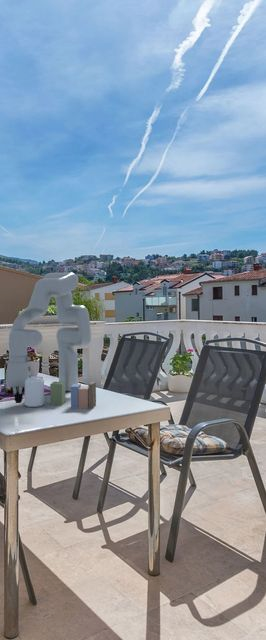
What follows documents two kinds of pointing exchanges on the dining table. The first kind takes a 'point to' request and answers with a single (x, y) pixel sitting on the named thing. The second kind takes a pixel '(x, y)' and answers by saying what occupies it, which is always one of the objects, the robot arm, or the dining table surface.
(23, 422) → the dining table surface
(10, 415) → the dining table surface
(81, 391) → the terracotta book
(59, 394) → the olive book
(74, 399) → the blue book
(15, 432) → the dining table surface
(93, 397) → the walnut bookend
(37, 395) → the beverage can
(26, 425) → the dining table surface
